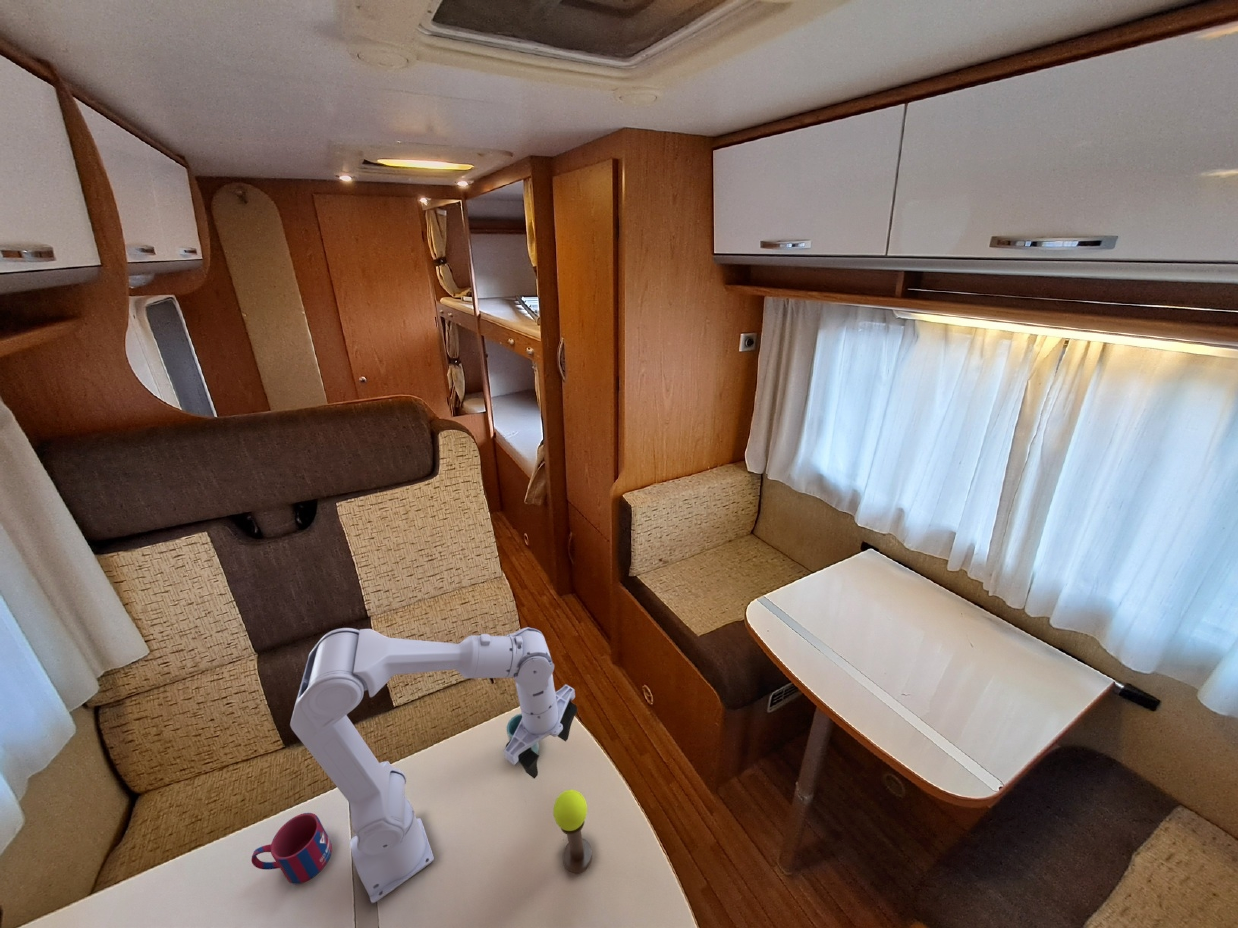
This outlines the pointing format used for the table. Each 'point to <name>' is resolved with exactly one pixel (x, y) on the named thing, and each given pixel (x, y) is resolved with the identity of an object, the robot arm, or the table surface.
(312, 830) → the cup
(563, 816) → the ball
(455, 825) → the table surface
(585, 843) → the stand
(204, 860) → the table surface
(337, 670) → the robot arm
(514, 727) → the tumbler
